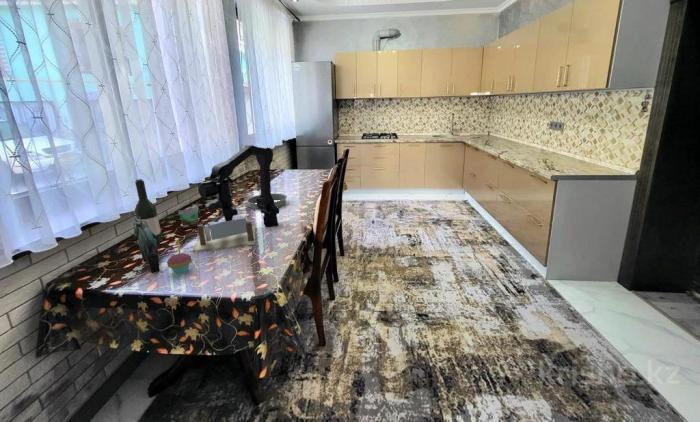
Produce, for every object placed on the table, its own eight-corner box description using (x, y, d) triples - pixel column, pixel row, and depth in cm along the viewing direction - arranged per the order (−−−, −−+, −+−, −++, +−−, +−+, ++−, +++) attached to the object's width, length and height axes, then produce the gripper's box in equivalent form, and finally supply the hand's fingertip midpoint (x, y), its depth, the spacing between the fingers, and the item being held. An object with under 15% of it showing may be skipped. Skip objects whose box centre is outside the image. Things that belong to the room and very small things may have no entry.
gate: (206, 241, 157) (204, 226, 155) (205, 240, 159) (203, 225, 157) (247, 232, 167) (246, 218, 165) (246, 231, 169) (244, 217, 166)
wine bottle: (166, 239, 169) (153, 177, 160) (152, 246, 161) (138, 181, 153) (153, 238, 172) (140, 177, 163) (138, 244, 164) (123, 181, 155)
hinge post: (206, 243, 160) (202, 224, 157) (205, 244, 158) (202, 225, 155) (201, 243, 159) (198, 224, 157) (200, 245, 157) (197, 226, 155)
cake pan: (244, 203, 228) (243, 196, 227) (281, 198, 238) (281, 191, 236) (251, 213, 207) (250, 205, 205) (292, 206, 216) (291, 199, 215)
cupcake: (174, 267, 138) (168, 239, 135) (196, 266, 139) (191, 237, 135) (165, 277, 130) (159, 247, 127) (189, 276, 131) (183, 245, 127)
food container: (191, 229, 182) (188, 210, 179) (181, 229, 183) (177, 210, 180) (205, 221, 194) (202, 204, 191) (195, 221, 195) (192, 204, 192)
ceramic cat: (139, 259, 148) (128, 213, 142) (156, 255, 151) (147, 210, 146) (147, 275, 132) (136, 225, 127) (166, 270, 136) (156, 221, 130)
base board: (255, 227, 181) (255, 225, 180) (255, 244, 158) (255, 242, 158) (201, 233, 175) (201, 232, 174) (193, 252, 152) (192, 250, 152)
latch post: (254, 238, 162) (251, 219, 160) (253, 240, 160) (251, 221, 157) (248, 239, 162) (245, 220, 159) (248, 241, 159) (245, 222, 157)
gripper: (201, 191, 164) (207, 223, 169) (208, 200, 148) (214, 235, 153) (226, 187, 169) (231, 218, 174) (235, 196, 154) (240, 230, 159)
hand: (228, 225), depth 165 cm, fingers closed
